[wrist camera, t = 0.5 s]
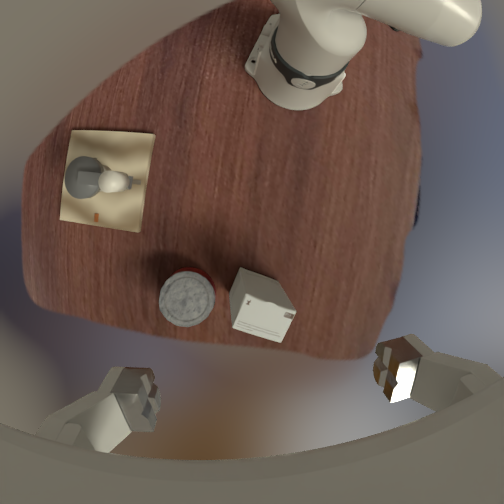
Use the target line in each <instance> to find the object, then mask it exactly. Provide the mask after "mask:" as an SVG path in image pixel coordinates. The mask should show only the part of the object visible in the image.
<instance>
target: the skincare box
mask: <svg viewBox="0 0 504 504" xmlns="http://www.w3.org/2000/svg"><path fill="white" fill-rule="evenodd" d="M229 298H230V309H231V319H232V328H234V329H237V330H241V331H243V332H247V333H250V334H253V335H256V336H259V337H263V338H266V339H269V340H273V341H276V342H280V343H281V342H282V340H283V338H284V336H285V334H286V332H287V329H288V327H289V325H290V323H291V321H292V319H293V317H294V315H295V313H296V310H295V308H294V307H293V305H292V303H291V302H290V300H289V298H288V297H287V295H286V294H285V292H284V290H283V289H282V287H281V285H280V284H279V282H278V281H276V280H274V279H271V278H269V277H266V276H263V275H261V274H258V273H255V272H252V271H249V270H246V269H244V268H241V267H240V269H239V271H238V273H237V276H236V278H235V280H234V283H233V285H232V288H231V290H230V292H229Z"/></svg>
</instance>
